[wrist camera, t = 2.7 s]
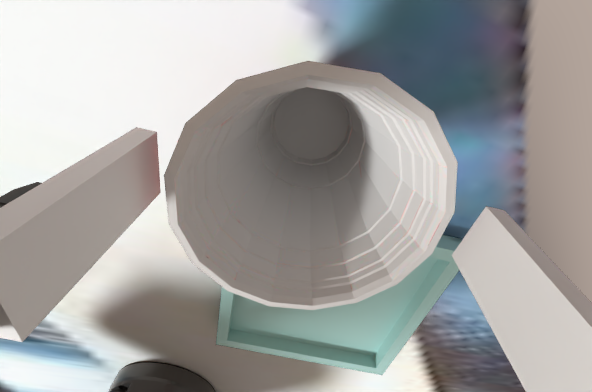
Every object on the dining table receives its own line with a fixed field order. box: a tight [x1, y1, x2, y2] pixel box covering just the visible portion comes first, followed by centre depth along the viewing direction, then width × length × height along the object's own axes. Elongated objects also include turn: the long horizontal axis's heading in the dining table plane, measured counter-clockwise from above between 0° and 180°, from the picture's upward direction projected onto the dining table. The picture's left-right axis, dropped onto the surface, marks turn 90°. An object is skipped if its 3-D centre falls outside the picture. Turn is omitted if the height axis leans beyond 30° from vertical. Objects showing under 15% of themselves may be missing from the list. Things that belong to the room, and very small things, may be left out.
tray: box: [216, 235, 462, 375], centre depth 29 cm, size 20×20×2 cm
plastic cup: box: [164, 61, 457, 310], centre depth 16 cm, size 11×11×12 cm
